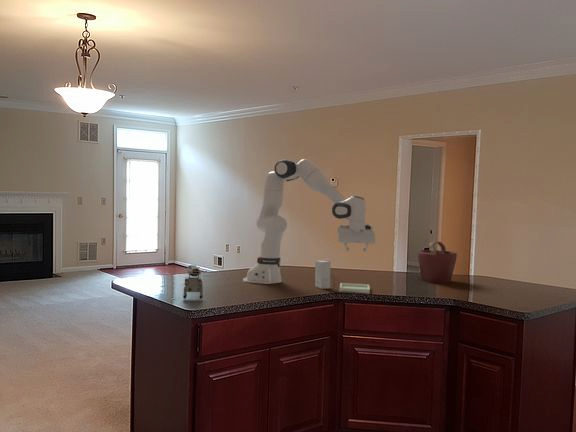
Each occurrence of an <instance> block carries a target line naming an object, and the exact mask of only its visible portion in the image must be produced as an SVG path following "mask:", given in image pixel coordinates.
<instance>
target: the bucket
mask: <svg viewBox="0 0 576 432" xmlns="http://www.w3.org/2000/svg"><path fill="white" fill-rule="evenodd" d="M436 244H438V246H439V248H440V249H439V250H437V249H436V247H435V245H436ZM428 246H429V248H430V249H421V250H419V251H418V254H417V256H418V264H419V270H420V278H421V281H422V282H425V283H429V284H440V285H441V284H442V285H444V284H450V283H451V281H452V277H453V272H454V270H455V265H456V261H457V259H458V258H457V257H458V255H457V254H458V253H457V252H453V251H448V250H447V249H446V246H445V244H444V243H443V242H442V241H436V240H434V241H431V242H430V243H429V244H428Z"/></svg>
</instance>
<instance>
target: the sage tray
mask: <svg viewBox="0 0 576 432" xmlns="http://www.w3.org/2000/svg"><path fill="white" fill-rule="evenodd" d="M338 290H339V293H349V294H350V293H351V294H352V293H354V294H368V295H369V294H371V288H370V284H368V283H367V284H365V283H347V282H346V283H345V282H340V283H339V289H338Z"/></svg>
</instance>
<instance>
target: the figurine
mask: <svg viewBox="0 0 576 432" xmlns="http://www.w3.org/2000/svg"><path fill="white" fill-rule="evenodd" d="M186 271H187V273H188V277H185V278H184V287H183V295H182V298H183V299H187V295H188V294H187V293H199V299H203V297H204V294H203V288H204V287H203V286H204V285H203V280H202V278H200V275H201V273H202V271H201V269H200V266H197V265H194V264H190V265H188V267H187V268H186Z"/></svg>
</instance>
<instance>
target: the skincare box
mask: <svg viewBox="0 0 576 432" xmlns="http://www.w3.org/2000/svg"><path fill="white" fill-rule="evenodd" d="M314 263H315V266H314V267H315V270H314V271H315V281H314V282H315V285H314V286H315V287H316V288H318V289H328V290H329V289H331V261H328V260H315V261H314Z"/></svg>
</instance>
